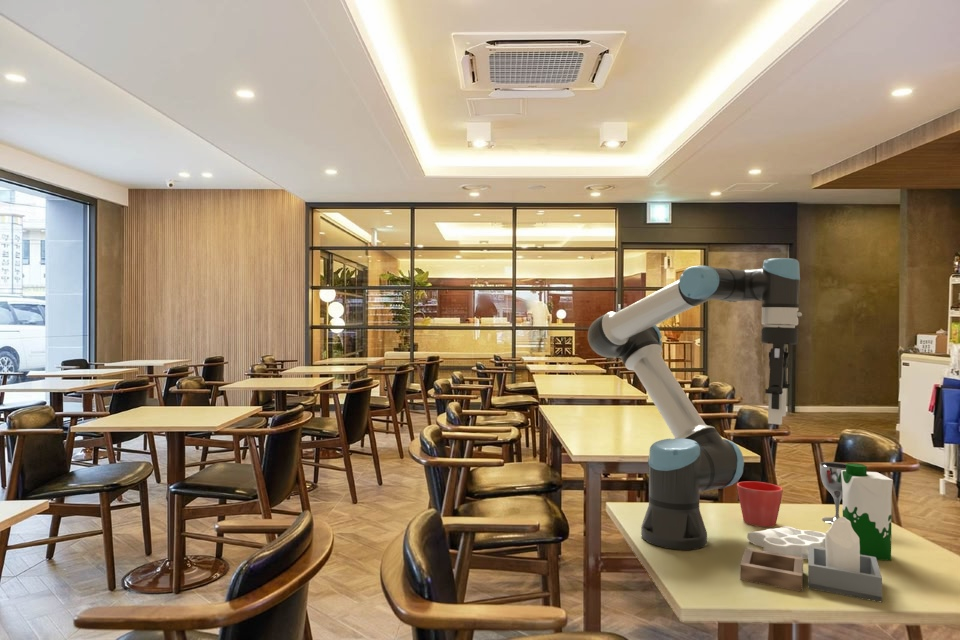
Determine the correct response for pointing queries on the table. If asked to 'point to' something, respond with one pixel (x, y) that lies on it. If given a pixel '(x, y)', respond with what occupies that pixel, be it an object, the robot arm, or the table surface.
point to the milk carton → (868, 509)
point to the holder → (772, 569)
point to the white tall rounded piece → (842, 546)
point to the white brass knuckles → (788, 540)
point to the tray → (844, 577)
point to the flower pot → (759, 502)
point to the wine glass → (832, 484)
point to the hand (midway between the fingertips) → (777, 419)
